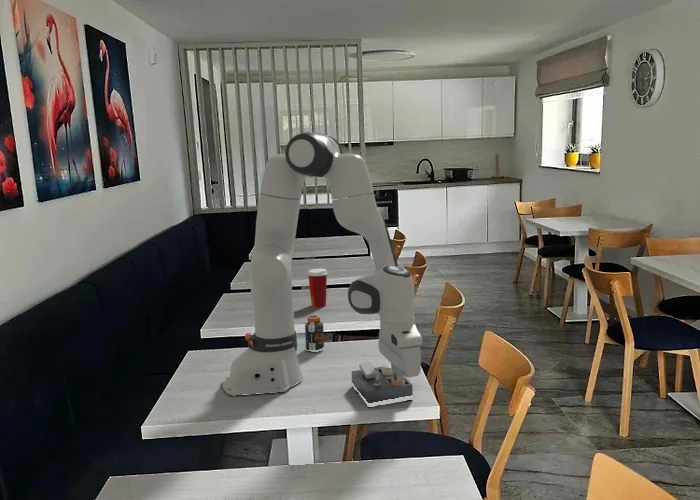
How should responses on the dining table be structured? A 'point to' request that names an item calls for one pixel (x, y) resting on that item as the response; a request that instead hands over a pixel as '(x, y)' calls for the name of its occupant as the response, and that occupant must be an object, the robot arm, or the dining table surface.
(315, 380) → the dining table surface
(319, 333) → the pill bottle
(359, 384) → the console
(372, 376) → the rocker
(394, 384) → the button orange
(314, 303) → the coffee cup
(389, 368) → the button ivory
